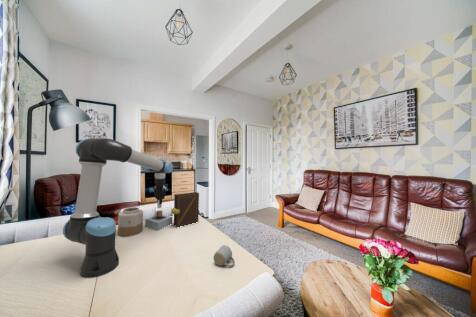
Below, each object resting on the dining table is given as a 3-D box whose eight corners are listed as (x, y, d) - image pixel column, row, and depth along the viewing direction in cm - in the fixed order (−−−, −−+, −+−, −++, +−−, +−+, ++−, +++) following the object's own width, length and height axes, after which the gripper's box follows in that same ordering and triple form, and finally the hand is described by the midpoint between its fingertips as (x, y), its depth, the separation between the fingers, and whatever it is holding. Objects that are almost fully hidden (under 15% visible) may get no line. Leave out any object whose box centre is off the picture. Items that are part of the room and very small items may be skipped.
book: (195, 220, 157) (195, 191, 156) (199, 223, 150) (200, 193, 150) (169, 225, 142) (170, 194, 142) (173, 229, 136) (174, 196, 136)
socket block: (172, 224, 145) (172, 216, 145) (158, 230, 133) (158, 221, 133) (159, 221, 151) (159, 213, 151) (145, 227, 139) (145, 218, 139)
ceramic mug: (212, 264, 93) (212, 250, 93) (220, 256, 101) (220, 243, 101) (230, 271, 89) (230, 255, 89) (237, 262, 96) (237, 248, 96)
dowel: (163, 219, 143) (163, 210, 143) (158, 220, 139) (159, 212, 139) (159, 218, 145) (159, 210, 145) (154, 219, 141) (155, 211, 141)
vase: (121, 228, 134) (122, 206, 134) (144, 227, 139) (144, 205, 138) (114, 237, 119) (115, 213, 119) (139, 235, 124) (140, 211, 124)
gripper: (169, 178, 142) (169, 207, 143) (158, 177, 148) (157, 205, 148) (162, 179, 136) (161, 210, 136) (150, 178, 141) (149, 207, 141)
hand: (159, 207), depth 142 cm, fingers closed
